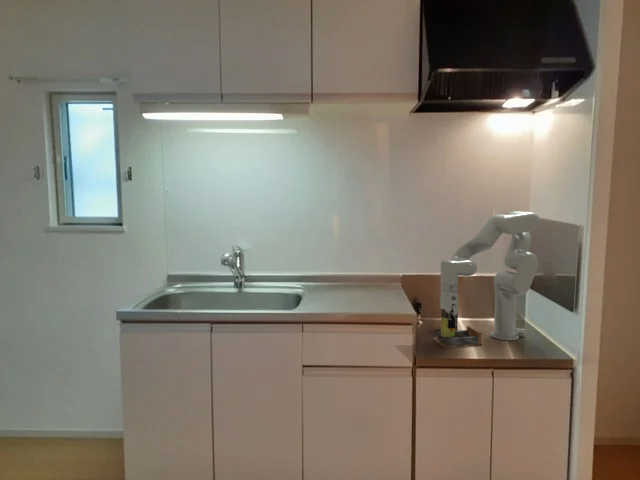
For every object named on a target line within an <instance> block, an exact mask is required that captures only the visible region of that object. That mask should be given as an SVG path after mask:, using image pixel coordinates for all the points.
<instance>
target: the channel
mask: <svg viewBox="0 0 640 480" xmlns="http://www.w3.org/2000/svg"><path fill="white" fill-rule="evenodd" d="M432 340H433V341H435V342H436V343H437V344H439V346H441V347H442V348H443V349H448V348H466V347H467V348H469V347H479V346H482V345H483V344H482V332H481V331H480V330H478V329H476V328H474V327H473V326H472V325H466V329H465V330H464V329H463V330H457V331H455V336H454V338H447V340H446V341H444V340H442V339H441V331H437V337H432Z"/></svg>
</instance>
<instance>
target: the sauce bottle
mask: <svg viewBox="0 0 640 480" xmlns="http://www.w3.org/2000/svg"><path fill="white" fill-rule="evenodd" d="M441 312H442V314H441V313H440V314H441V316H440V332H441V339H442V340H444V341H446V340H447V338H454V336H455V328H448V319H449V316H448V313H447V312H446V311H445V309H442V311H441ZM451 313H453V311H451ZM452 315H453V314H451V316H452Z"/></svg>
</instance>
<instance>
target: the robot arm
mask: <svg viewBox="0 0 640 480" xmlns="http://www.w3.org/2000/svg"><path fill="white" fill-rule="evenodd" d="M540 223H541V219H540V216H539V215H538V214H537V213H535V212H532V211H521V210H520V211H519V210H515V211H510V212H509V213H508V214H502V213H500V214H493V215H492V216H491V217H489V219H488V220H487V222H485V224H484V225H483V227H481V229H480V231H479V232H478V233H477V234H476V235H475V236H474V237H473V238H472V239H470V240H469V241H468V242H465V243H464V244H462V246H460V247H459V248H458V249H457V250H456V251H455V252H454V254H453V255H452V256H451V258H450V259H443V260H442V261H441V263H440V285H439V286H440V288H439V289H440V301H439V306H440V307H439V308H440V311H441V313H440V314H442V309H445V311H446V312H447V313H448V316H449V319H448V328H455V320H456V316H457V313H458V314H459V312H460V311H459V309H460V307H459V293H458V290H459V288H458V286H459V285H458V284H459V277H471V276H473V275H475V274H476V272H477V270H478V266H477V264H476V263H475V261H473V260H471V259H470V258H472V257H474V256H475V255H477V254H479V253H482V252H485V251H489V250H490V249H492V247H494V245H495V244H496V242H497V240H498V239H499V238H501V236H502V235H503V234H506V235H511V238H510V239H511V240H510V243H509V246H508V248H507V251H506V254H505V257H504V261H503V262H504V265H505V266H506V268H509V269H511V270H515V272H513V271H509V270H500V271H498V272H496V274H495V276H494V278H493V285H494V287H493V288H494V295H495V297H494V298H495V299H494V323H493V330H492V331H490V336H491V337H492V338H494V339H496V340H500V341H516V340H518V339H519V338H520V336H519V334H522V333H526V329H525V328H519V327H517V306H518V304H517V303H518V300H517V296H524V295H526V294H527V293H528V291H530V288H531V286H532V283H533V281H534V278H535V275H536V272H537V270H538V265H539V261H538V257H537V256H536V254H534V253H533V252H531V251H529V250H530V246H531V241H532V237H531V233H530V232H534V231H535V230H536V229H538V228H539V225H540ZM451 311H453V313H451ZM451 314H453V315H452V316H451Z"/></svg>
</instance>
